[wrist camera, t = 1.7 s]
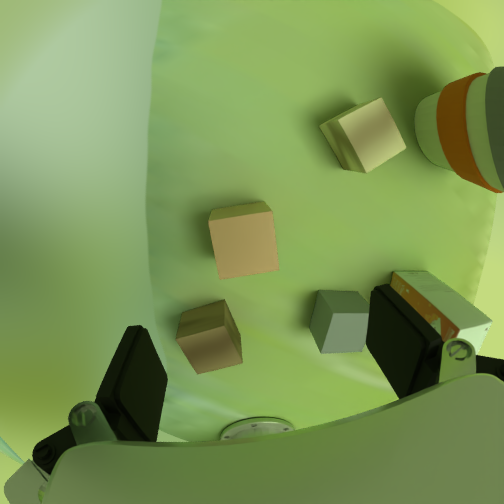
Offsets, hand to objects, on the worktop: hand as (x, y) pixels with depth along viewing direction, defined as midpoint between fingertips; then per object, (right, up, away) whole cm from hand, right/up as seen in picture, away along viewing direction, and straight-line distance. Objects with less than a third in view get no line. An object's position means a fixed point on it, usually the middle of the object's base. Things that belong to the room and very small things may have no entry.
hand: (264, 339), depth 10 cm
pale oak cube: (+9, +15, +14) cm, 22 cm away
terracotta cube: (-1, +6, +16) cm, 17 cm away
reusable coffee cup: (+22, +18, +14) cm, 31 cm away
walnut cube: (-5, -5, +19) cm, 20 cm away
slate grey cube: (+9, -3, +20) cm, 22 cm away
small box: (+19, -3, +21) cm, 28 cm away
